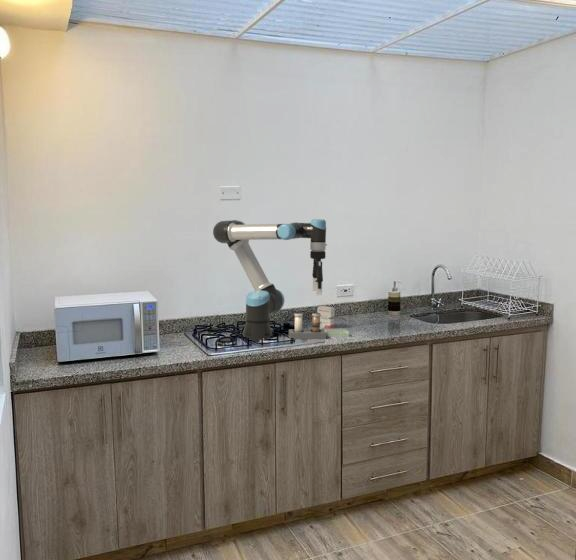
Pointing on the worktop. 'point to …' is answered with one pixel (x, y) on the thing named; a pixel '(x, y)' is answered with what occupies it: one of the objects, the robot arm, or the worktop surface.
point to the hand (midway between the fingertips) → (317, 292)
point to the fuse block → (307, 334)
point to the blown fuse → (316, 322)
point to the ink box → (326, 316)
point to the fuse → (298, 322)
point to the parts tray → (337, 333)
